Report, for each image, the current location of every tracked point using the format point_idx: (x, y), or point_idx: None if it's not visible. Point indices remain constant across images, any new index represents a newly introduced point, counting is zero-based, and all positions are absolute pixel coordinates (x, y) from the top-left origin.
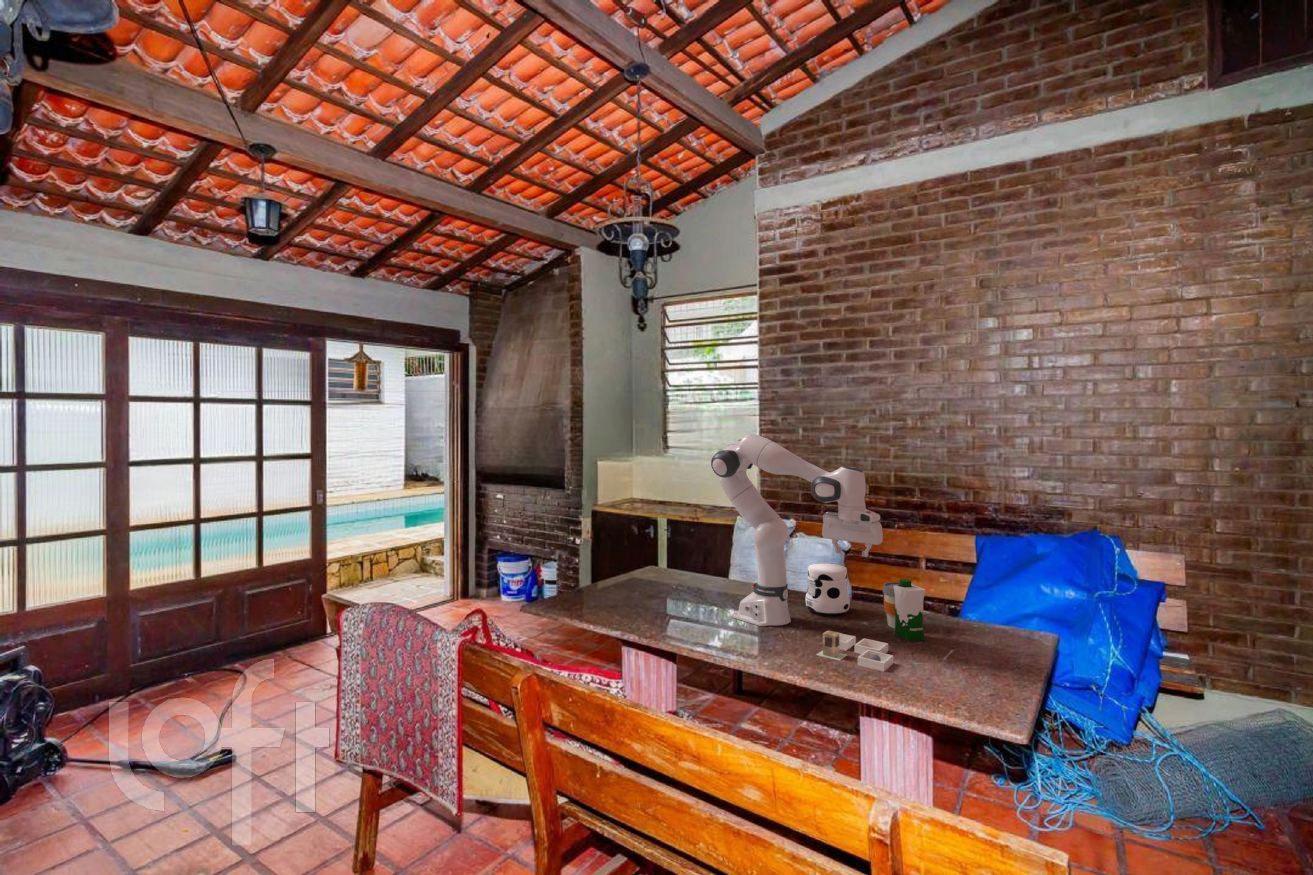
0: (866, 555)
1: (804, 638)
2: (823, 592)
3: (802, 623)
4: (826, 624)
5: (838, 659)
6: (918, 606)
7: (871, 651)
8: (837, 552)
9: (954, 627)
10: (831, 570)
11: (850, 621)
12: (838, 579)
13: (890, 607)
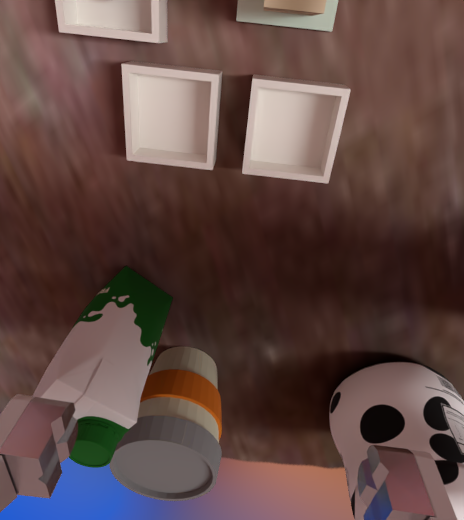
0: (8, 409)
1: (425, 137)
2: (415, 417)
3: (449, 278)
4: (372, 301)
5: None
6: (58, 351)
7: (140, 32)
8: (398, 448)
9: None
10: None
11: (310, 349)
12: None
13: (192, 388)
